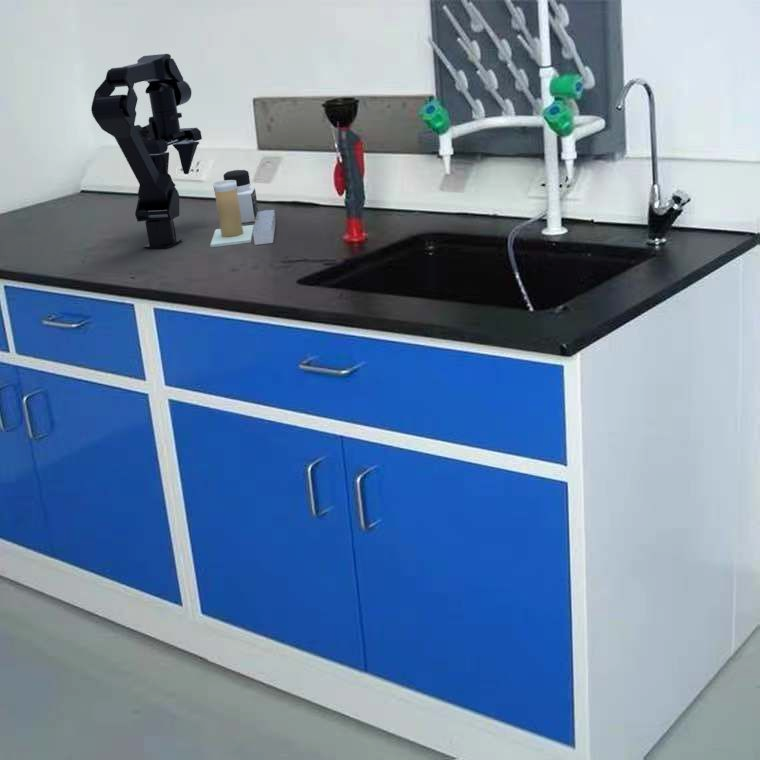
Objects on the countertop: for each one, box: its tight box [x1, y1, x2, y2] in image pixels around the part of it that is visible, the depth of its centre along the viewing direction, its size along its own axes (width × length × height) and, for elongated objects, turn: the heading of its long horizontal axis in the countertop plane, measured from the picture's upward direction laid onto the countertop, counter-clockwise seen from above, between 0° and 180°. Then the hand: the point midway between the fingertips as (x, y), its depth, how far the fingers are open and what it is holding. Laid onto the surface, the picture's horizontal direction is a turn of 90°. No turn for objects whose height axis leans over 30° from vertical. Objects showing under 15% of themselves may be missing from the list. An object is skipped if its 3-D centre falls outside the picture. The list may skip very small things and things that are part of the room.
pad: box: [209, 224, 254, 248], centre depth 289 cm, size 9×16×1 cm, turn 3°
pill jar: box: [212, 180, 243, 237], centre depth 287 cm, size 5×5×12 cm
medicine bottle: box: [223, 169, 259, 224], centre depth 304 cm, size 7×7×12 cm
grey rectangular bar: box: [252, 208, 277, 246], centre depth 290 cm, size 25×4×3 cm, turn 3°
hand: (175, 178), depth 295 cm, fingers open, 9 cm apart
